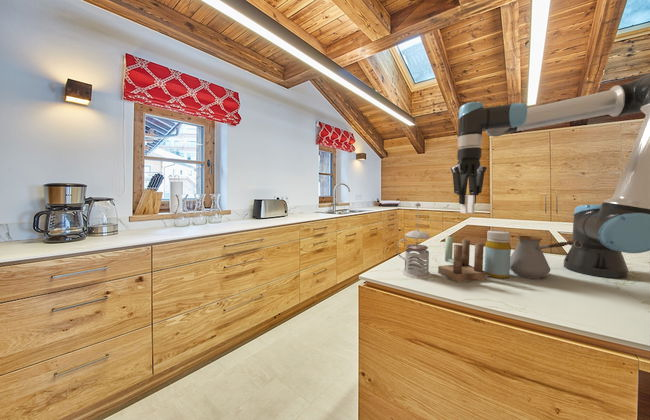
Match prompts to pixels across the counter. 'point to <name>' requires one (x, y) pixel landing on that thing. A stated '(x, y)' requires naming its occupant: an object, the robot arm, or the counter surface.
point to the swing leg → (449, 249)
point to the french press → (416, 255)
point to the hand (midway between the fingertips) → (467, 212)
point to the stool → (465, 264)
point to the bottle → (497, 254)
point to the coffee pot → (532, 257)
